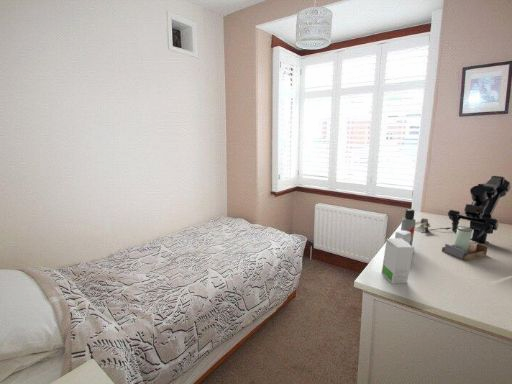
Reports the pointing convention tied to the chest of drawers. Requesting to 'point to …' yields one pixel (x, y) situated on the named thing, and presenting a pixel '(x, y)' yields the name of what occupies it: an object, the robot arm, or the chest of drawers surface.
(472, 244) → the jar
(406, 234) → the skincare box
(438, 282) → the chest of drawers surface
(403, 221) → the lotion bottle
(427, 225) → the artificial flower
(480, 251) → the wooden tray
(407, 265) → the skincare box
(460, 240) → the mint green grey canister
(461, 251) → the bar
